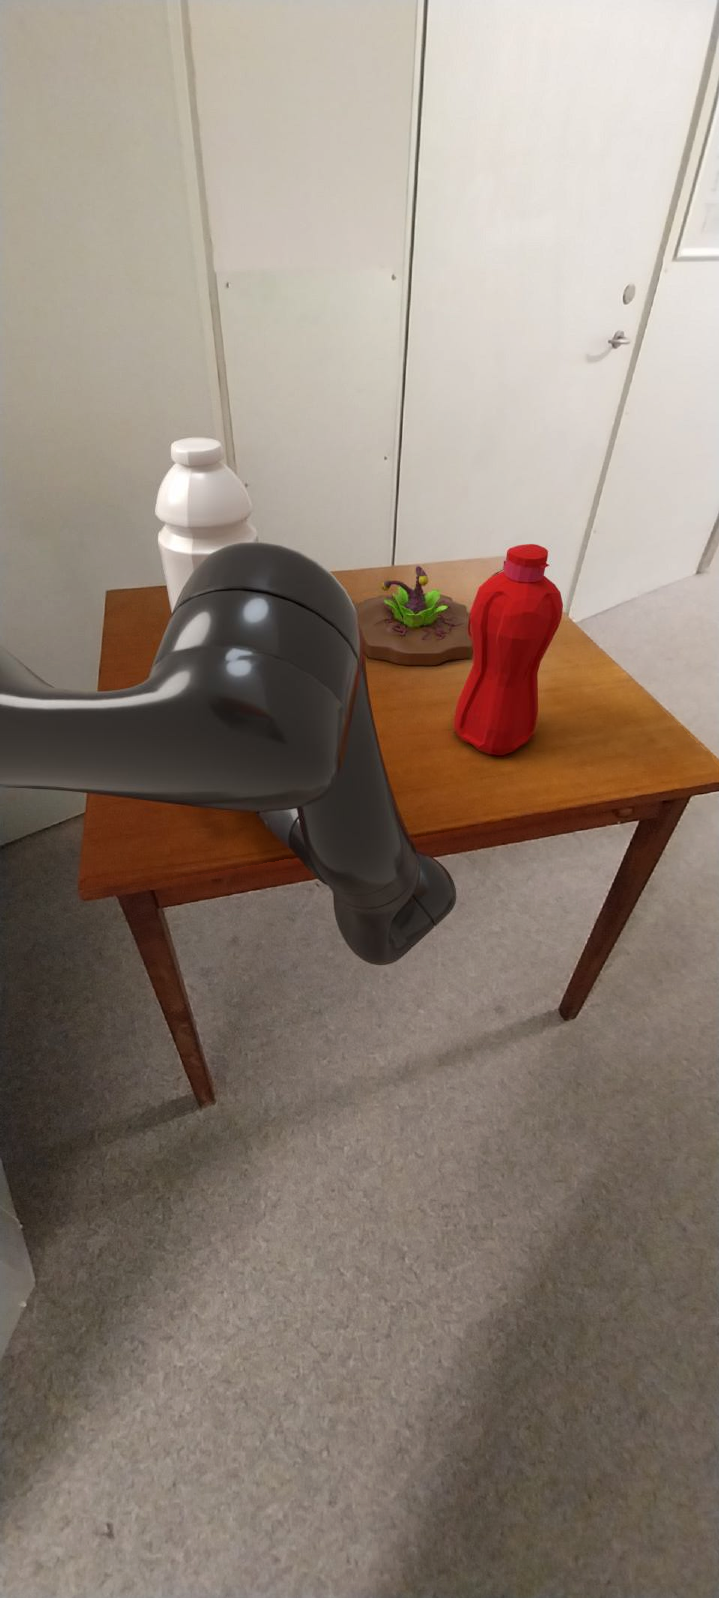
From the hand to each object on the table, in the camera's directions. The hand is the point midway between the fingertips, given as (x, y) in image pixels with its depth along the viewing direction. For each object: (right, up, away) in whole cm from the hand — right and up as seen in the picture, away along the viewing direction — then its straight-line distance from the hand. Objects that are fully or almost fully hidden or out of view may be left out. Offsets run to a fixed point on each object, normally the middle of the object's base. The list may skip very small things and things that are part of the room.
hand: (216, 721), depth 77 cm
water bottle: (+33, 0, +12) cm, 35 cm away
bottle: (-5, +16, +28) cm, 33 cm away
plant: (+25, +17, +30) cm, 43 cm away
